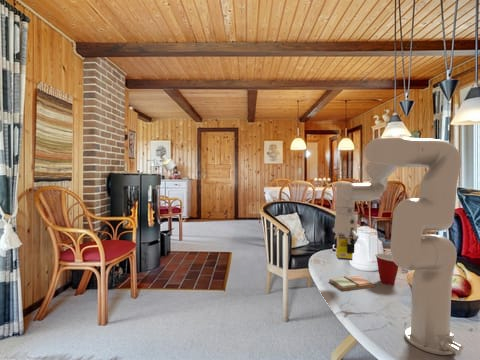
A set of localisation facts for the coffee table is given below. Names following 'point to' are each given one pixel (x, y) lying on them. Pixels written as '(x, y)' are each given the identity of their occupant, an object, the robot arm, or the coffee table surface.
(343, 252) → the supplement box
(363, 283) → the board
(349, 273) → the coffee table surface
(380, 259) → the plastic cup
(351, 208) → the robot arm
